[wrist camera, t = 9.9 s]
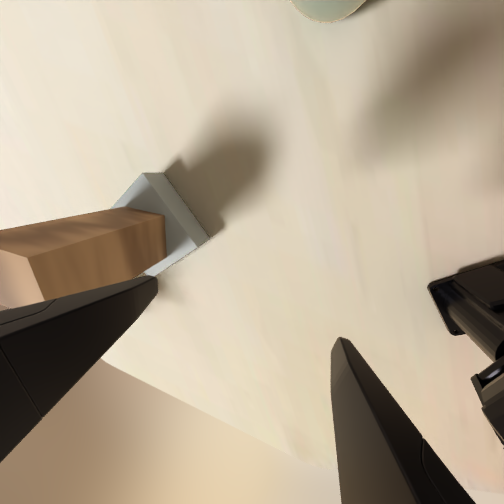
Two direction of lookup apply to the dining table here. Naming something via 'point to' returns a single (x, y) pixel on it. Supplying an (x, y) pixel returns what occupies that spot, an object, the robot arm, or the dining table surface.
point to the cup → (326, 9)
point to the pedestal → (176, 216)
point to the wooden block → (78, 254)
